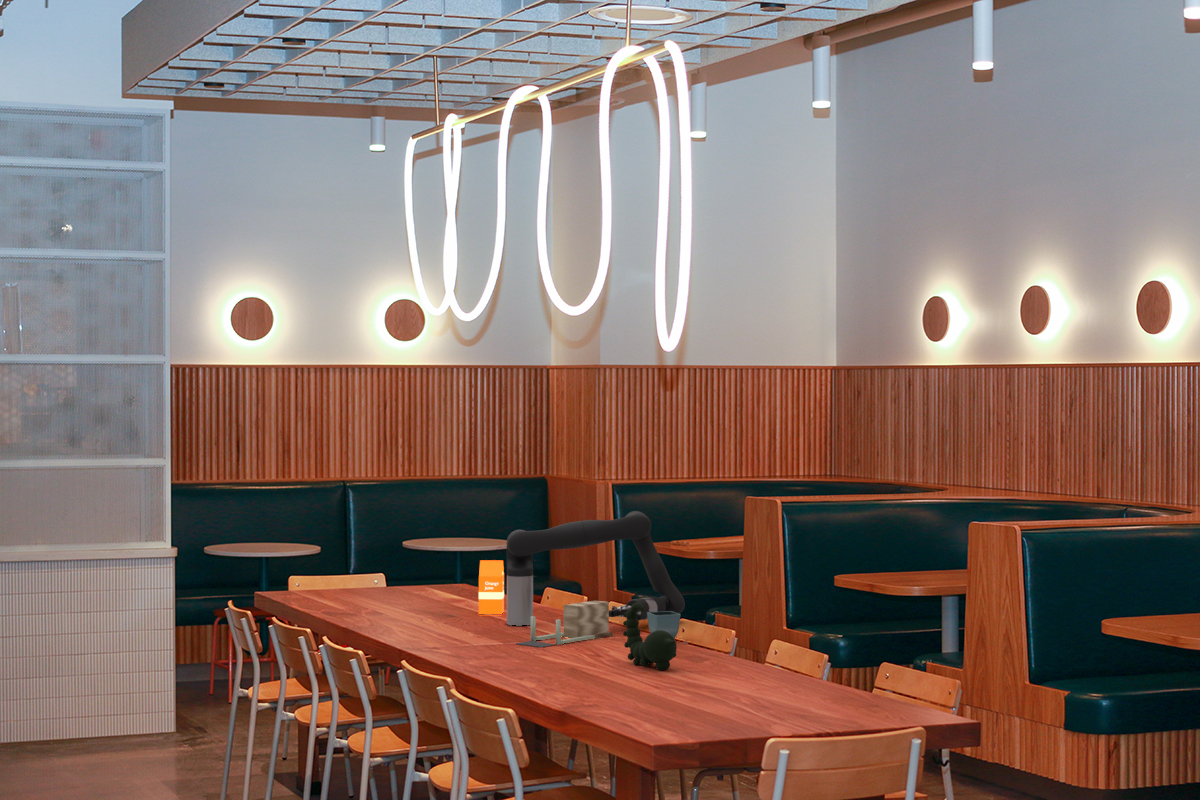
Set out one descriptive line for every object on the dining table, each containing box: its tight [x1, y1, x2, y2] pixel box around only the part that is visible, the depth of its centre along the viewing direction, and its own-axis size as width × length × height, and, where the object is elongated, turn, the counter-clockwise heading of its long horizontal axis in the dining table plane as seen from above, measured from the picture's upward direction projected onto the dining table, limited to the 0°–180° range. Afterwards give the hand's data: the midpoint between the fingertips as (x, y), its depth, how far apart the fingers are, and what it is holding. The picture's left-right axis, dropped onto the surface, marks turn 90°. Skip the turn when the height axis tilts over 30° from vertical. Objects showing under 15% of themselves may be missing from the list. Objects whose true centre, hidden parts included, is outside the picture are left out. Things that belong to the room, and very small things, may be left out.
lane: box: [594, 631, 613, 639], centre depth 456 cm, size 9×13×1 cm
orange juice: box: [478, 559, 505, 615], centre depth 511 cm, size 8×9×20 cm
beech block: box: [563, 600, 610, 638], centre depth 455 cm, size 16×6×11 cm, turn 140°
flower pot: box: [647, 611, 681, 640], centre depth 446 cm, size 9×9×9 cm
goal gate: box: [530, 615, 595, 646], centre depth 446 cm, size 18×13×8 cm
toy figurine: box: [622, 603, 678, 671], centre depth 397 cm, size 9×19×25 cm
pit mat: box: [515, 640, 557, 648], centre depth 436 cm, size 7×11×1 cm, turn 50°
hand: (609, 613), depth 465 cm, fingers closed
